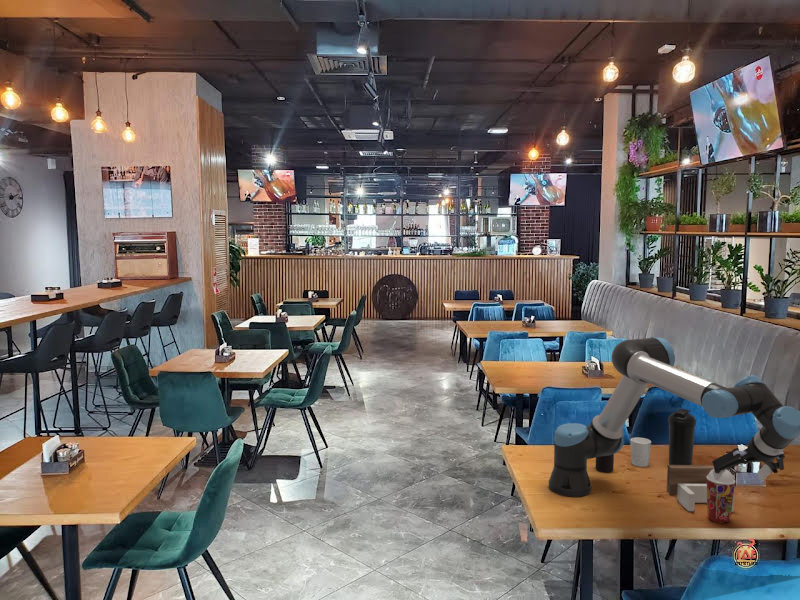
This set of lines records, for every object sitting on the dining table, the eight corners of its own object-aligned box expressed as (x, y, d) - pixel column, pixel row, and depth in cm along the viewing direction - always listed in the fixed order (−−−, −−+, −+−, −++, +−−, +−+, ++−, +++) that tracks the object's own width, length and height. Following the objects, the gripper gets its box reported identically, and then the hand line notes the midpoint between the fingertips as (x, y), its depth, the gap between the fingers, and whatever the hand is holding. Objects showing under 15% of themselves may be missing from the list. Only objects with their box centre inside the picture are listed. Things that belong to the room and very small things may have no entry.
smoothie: (732, 527, 194) (735, 466, 192) (703, 521, 198) (705, 461, 196) (734, 517, 201) (737, 458, 199) (706, 511, 205) (708, 454, 203)
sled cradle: (733, 511, 205) (734, 494, 204) (688, 511, 205) (688, 493, 204) (720, 500, 213) (721, 484, 213) (677, 500, 214) (677, 483, 213)
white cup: (653, 467, 246) (654, 443, 245) (633, 467, 246) (634, 443, 245) (646, 460, 254) (646, 437, 253) (626, 460, 254) (627, 437, 253)
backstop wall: (715, 495, 218) (716, 468, 218) (669, 494, 219) (671, 467, 218) (711, 492, 221) (712, 465, 221) (666, 491, 222) (667, 464, 221)
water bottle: (697, 465, 248) (700, 410, 246) (689, 472, 240) (691, 415, 238) (671, 459, 255) (673, 406, 253) (662, 466, 247) (665, 410, 245)
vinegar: (591, 469, 244) (593, 420, 242) (602, 465, 248) (603, 417, 246) (606, 474, 239) (608, 424, 237) (616, 470, 243) (618, 421, 241)
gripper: (726, 456, 170) (700, 487, 186) (818, 457, 169) (783, 488, 185) (718, 431, 175) (693, 464, 191) (807, 432, 174) (774, 465, 190)
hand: (737, 476), depth 188 cm, fingers open, 13 cm apart
